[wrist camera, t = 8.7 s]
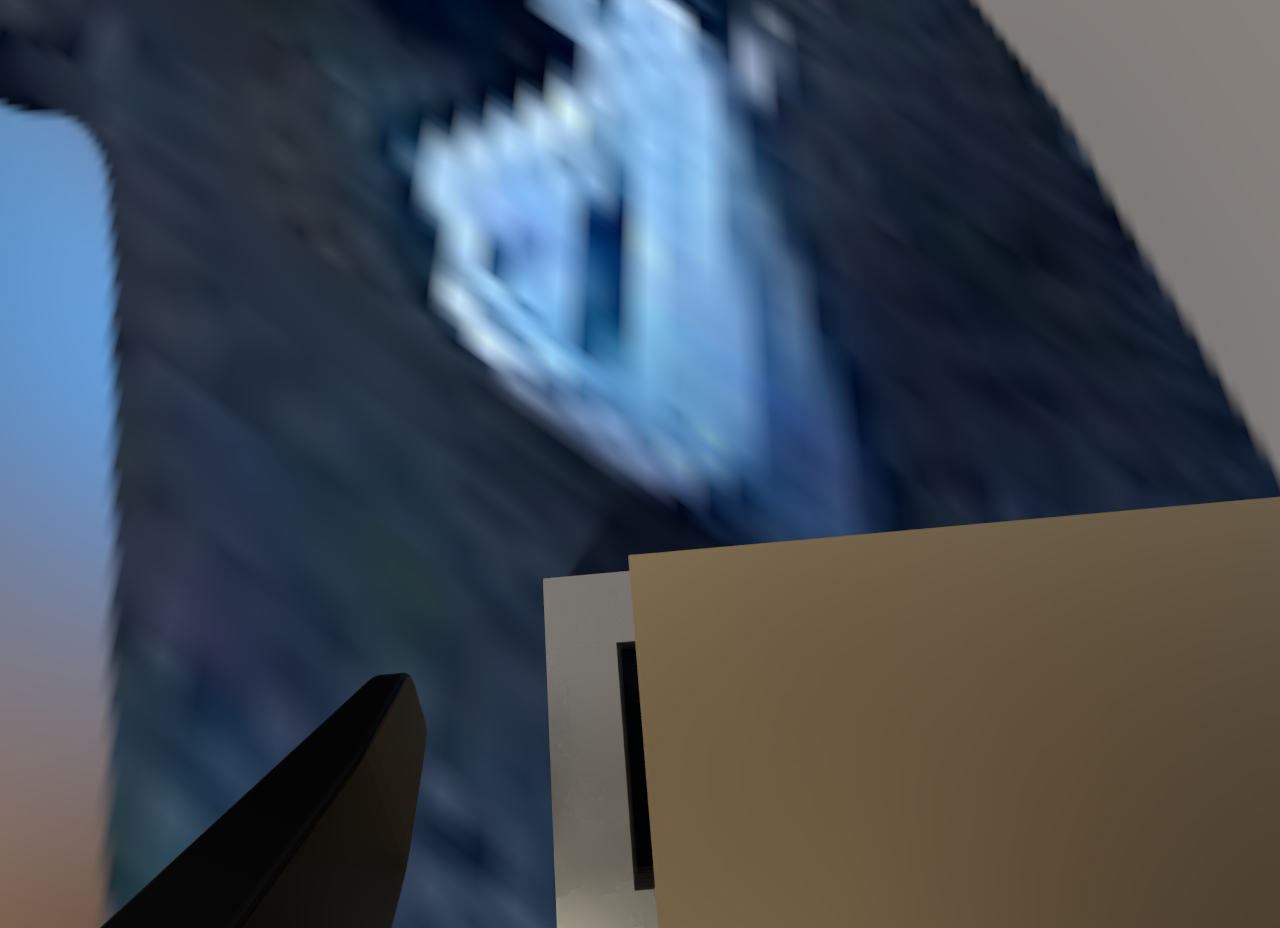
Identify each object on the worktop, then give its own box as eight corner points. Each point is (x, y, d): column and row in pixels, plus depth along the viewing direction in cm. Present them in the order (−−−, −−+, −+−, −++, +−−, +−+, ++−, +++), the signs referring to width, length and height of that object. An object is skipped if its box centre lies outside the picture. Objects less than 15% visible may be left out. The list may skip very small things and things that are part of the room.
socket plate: (932, 920, 14) (972, 953, 12) (572, 954, 14) (560, 992, 12) (861, 564, 17) (886, 547, 15) (555, 592, 17) (543, 578, 15)
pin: (809, 813, 15) (1862, 1578, 2) (666, 826, 15) (719, 1688, 2) (787, 664, 16) (1357, 489, 3) (653, 675, 16) (628, 554, 3)
